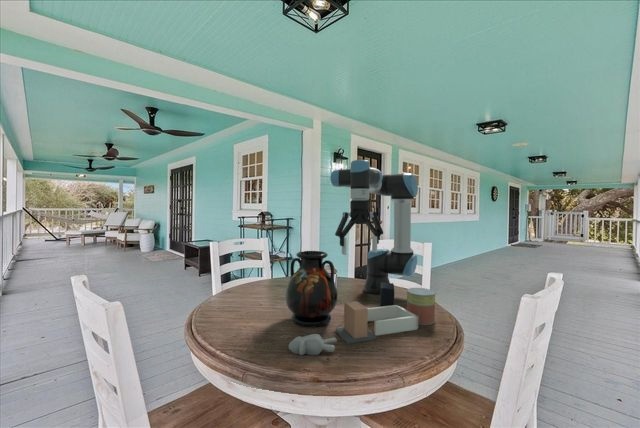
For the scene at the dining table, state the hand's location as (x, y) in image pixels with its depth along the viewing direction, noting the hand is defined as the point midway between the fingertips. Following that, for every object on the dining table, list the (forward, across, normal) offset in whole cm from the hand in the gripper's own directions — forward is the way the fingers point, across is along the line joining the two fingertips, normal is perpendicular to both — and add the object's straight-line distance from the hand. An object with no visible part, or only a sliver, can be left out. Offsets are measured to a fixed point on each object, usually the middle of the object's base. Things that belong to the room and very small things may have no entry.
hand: (359, 253), depth 121 cm
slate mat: (+28, -6, -9) cm, 30 cm away
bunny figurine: (+28, -25, -16) cm, 41 cm away
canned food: (+29, +27, -4) cm, 40 cm away
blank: (+27, -6, -9) cm, 30 cm away
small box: (+29, +22, +14) cm, 39 cm away
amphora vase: (+29, -17, +10) cm, 35 cm away
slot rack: (+29, +10, -5) cm, 31 cm away
